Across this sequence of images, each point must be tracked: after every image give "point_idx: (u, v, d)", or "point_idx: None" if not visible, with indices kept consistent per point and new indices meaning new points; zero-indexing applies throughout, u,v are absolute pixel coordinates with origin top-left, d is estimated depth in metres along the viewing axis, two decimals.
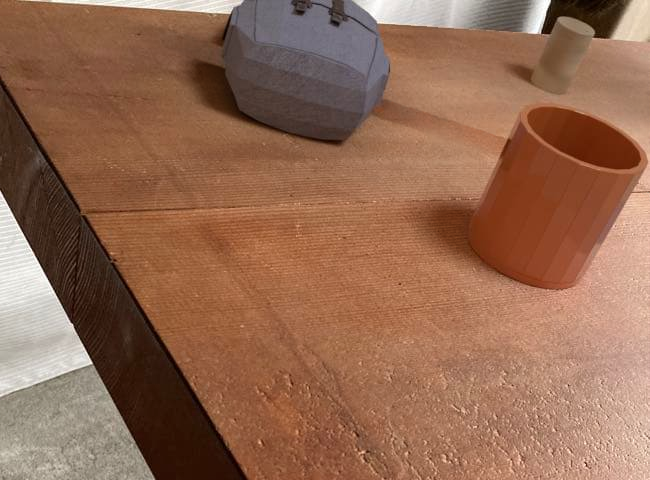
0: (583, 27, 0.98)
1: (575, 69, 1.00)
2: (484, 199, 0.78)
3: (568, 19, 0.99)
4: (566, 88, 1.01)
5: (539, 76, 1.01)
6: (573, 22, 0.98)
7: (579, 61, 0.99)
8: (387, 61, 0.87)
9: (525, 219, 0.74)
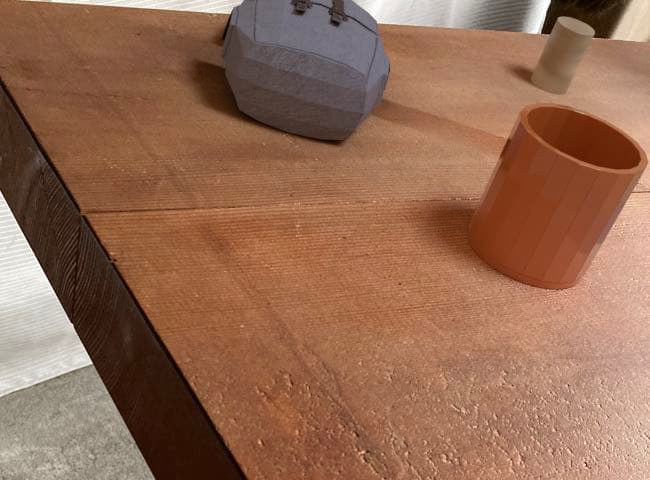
0: (583, 27, 0.98)
1: (575, 69, 1.00)
2: (484, 199, 0.78)
3: (568, 19, 0.99)
4: (566, 88, 1.01)
5: (539, 76, 1.01)
6: (573, 22, 0.98)
7: (579, 61, 0.99)
8: (387, 61, 0.87)
9: (525, 219, 0.74)
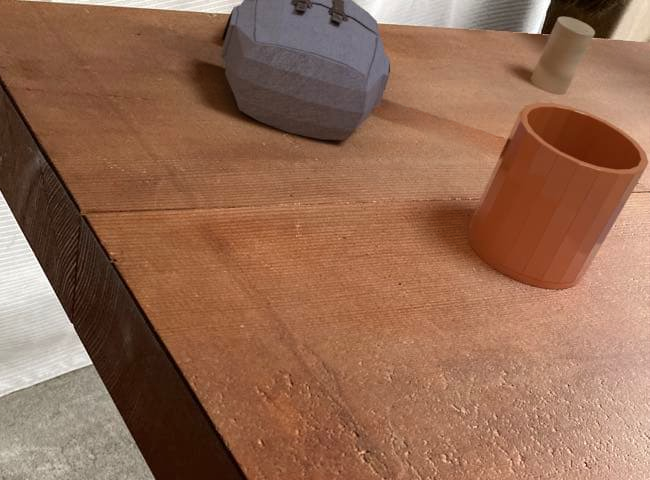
0: (583, 27, 0.98)
1: (575, 69, 1.00)
2: (484, 199, 0.78)
3: (568, 19, 0.99)
4: (566, 88, 1.01)
5: (539, 76, 1.01)
6: (573, 22, 0.98)
7: (579, 61, 0.99)
8: (387, 61, 0.87)
9: (525, 219, 0.74)
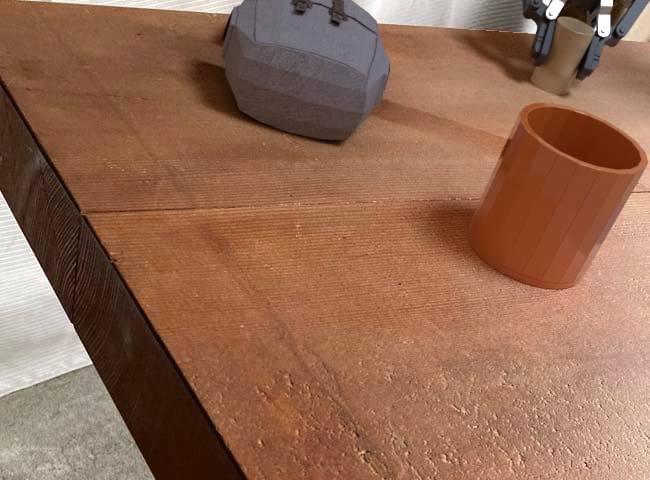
0: (583, 27, 0.98)
1: (575, 69, 1.00)
2: (484, 199, 0.78)
3: (568, 19, 0.99)
4: (566, 88, 1.01)
5: (539, 76, 1.01)
6: (573, 22, 0.98)
7: (579, 61, 0.99)
8: (387, 61, 0.87)
9: (525, 219, 0.74)
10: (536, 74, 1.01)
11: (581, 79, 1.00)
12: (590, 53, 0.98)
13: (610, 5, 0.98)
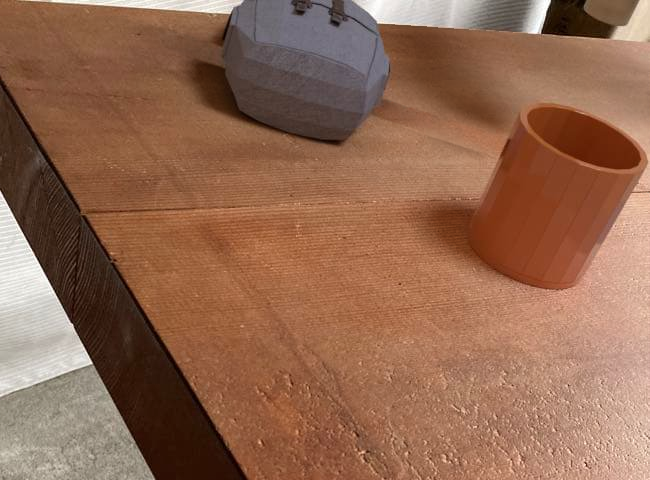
0: None
1: None
2: (484, 199, 0.78)
3: None
4: None
5: None
6: None
7: None
8: (387, 61, 0.87)
9: (525, 219, 0.74)
10: None
11: None
12: None
13: None
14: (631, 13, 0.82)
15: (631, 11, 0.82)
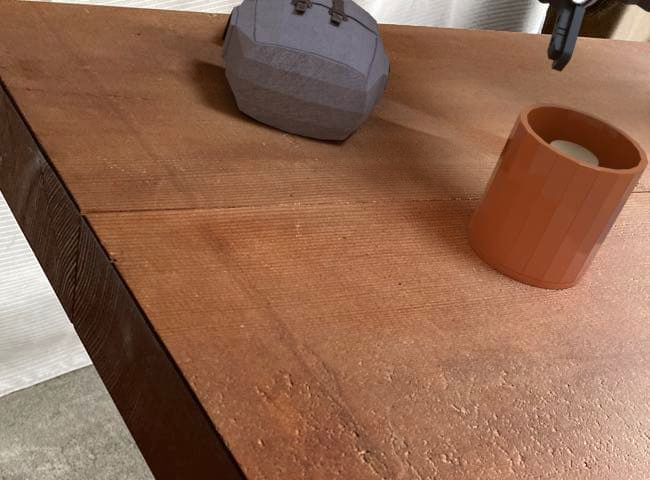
0: (583, 156, 0.75)
1: None
2: (484, 199, 0.78)
3: (564, 144, 0.75)
4: None
5: None
6: (570, 149, 0.75)
7: None
8: (387, 61, 0.87)
9: (525, 219, 0.74)
10: None
11: None
12: None
13: None
14: None
15: None
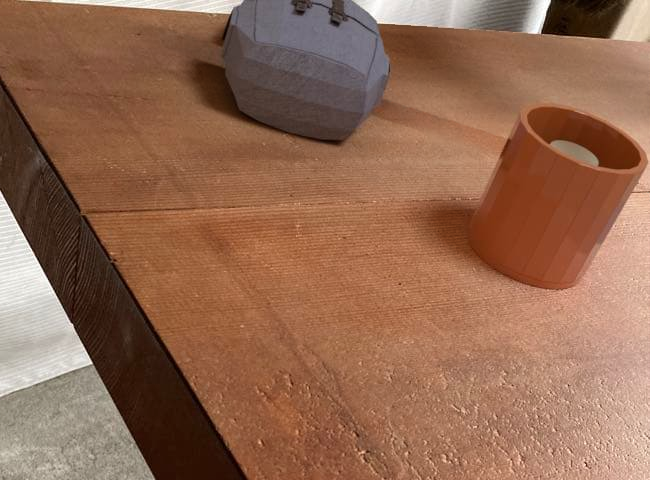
0: (583, 156, 0.75)
1: None
2: (484, 199, 0.78)
3: (564, 144, 0.75)
4: None
5: None
6: (570, 149, 0.75)
7: None
8: (387, 61, 0.87)
9: (525, 219, 0.74)
10: None
11: None
12: None
13: None
14: None
15: None
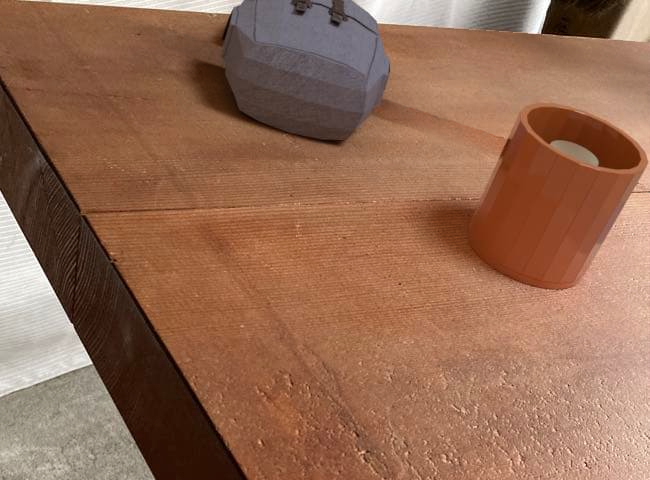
0: (583, 156, 0.75)
1: None
2: (484, 199, 0.78)
3: (564, 144, 0.75)
4: None
5: None
6: (570, 149, 0.75)
7: None
8: (387, 61, 0.87)
9: (525, 219, 0.74)
10: None
11: None
12: None
13: None
14: None
15: None
